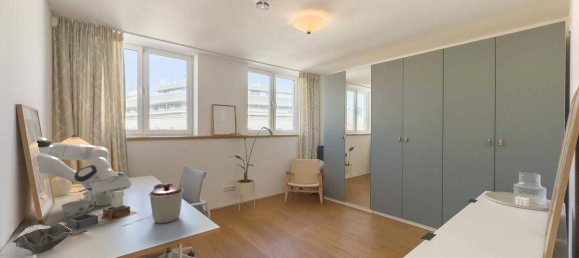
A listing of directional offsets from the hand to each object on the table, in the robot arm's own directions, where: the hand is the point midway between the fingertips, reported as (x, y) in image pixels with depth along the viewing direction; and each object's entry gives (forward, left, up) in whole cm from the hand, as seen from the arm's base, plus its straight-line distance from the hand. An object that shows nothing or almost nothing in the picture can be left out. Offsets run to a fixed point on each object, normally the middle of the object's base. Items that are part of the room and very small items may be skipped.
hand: (117, 196), depth 144 cm
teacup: (-22, -10, -12) cm, 27 cm away
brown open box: (-1, 0, -12) cm, 12 cm away
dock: (-1, -17, -12) cm, 21 cm away
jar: (-33, +11, -12) cm, 36 cm away
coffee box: (+14, +20, -12) cm, 27 cm away
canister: (+32, +9, -12) cm, 36 cm away
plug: (-1, 0, -9) cm, 9 cm away
